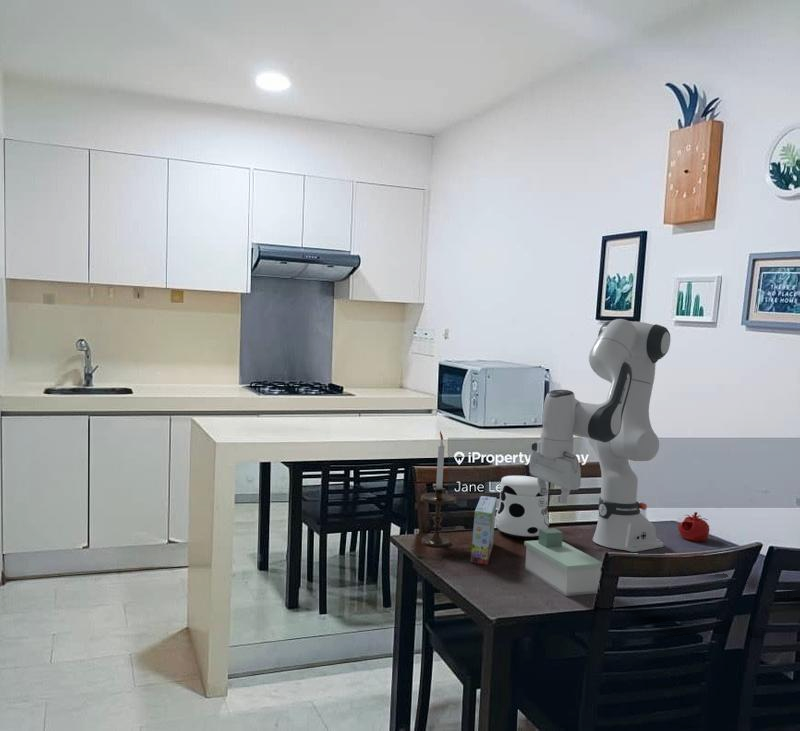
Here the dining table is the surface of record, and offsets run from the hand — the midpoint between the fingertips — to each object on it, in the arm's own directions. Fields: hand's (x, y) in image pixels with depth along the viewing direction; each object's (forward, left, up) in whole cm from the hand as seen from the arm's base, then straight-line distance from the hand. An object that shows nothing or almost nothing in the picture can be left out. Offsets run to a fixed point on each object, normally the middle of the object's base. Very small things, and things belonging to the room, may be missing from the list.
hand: (552, 498), depth 192 cm
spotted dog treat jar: (-12, -35, -21) cm, 43 cm away
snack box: (+10, -20, -21) cm, 31 cm away
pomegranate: (-69, -19, -21) cm, 75 cm away
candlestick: (+20, -32, -21) cm, 43 cm away
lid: (0, +6, -14) cm, 15 cm away
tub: (0, +6, -21) cm, 22 cm away
